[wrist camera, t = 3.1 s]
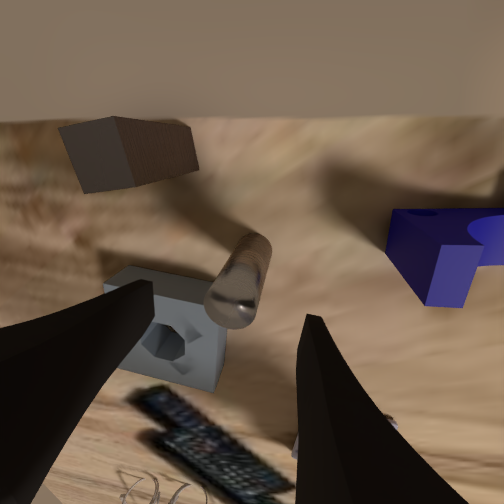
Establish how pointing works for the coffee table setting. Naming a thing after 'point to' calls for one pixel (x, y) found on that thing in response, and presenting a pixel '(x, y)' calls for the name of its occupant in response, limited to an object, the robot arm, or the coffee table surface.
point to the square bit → (127, 152)
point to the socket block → (184, 323)
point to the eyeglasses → (173, 499)
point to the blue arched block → (444, 250)
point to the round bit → (239, 284)
